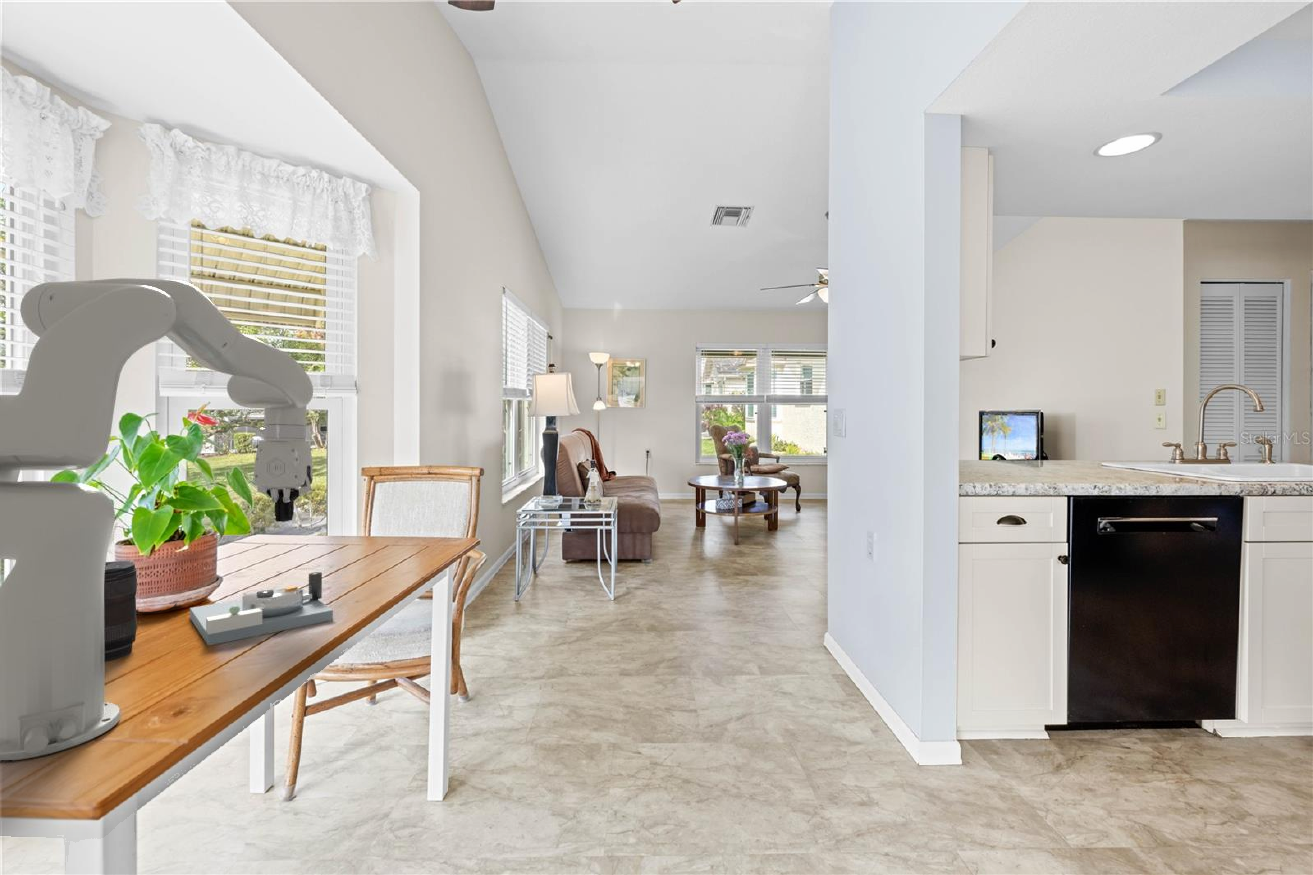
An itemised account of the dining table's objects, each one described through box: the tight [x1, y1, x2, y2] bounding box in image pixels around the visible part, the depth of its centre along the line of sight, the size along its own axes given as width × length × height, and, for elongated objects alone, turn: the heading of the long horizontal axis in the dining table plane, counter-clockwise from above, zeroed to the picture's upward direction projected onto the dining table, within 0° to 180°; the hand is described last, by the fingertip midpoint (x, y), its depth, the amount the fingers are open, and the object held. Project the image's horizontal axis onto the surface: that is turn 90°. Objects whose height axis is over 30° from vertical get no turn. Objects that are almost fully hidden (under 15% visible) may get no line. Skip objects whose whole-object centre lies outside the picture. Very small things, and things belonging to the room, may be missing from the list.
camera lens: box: [104, 560, 138, 662], centre depth 98 cm, size 8×8×15 cm
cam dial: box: [241, 571, 323, 617], centre depth 119 cm, size 15×10×5 cm
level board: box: [189, 588, 334, 646], centre depth 118 cm, size 20×20×6 cm
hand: (284, 520), depth 125 cm, fingers closed
